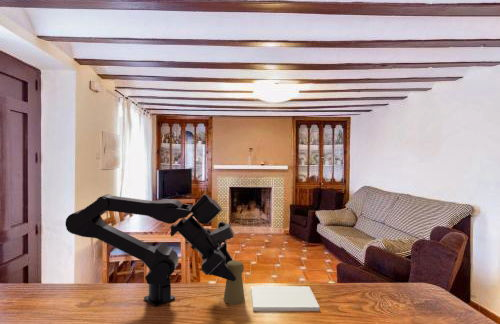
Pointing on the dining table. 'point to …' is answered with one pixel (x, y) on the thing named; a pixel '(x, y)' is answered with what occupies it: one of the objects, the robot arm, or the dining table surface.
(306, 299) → the white board
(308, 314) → the dining table surface
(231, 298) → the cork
